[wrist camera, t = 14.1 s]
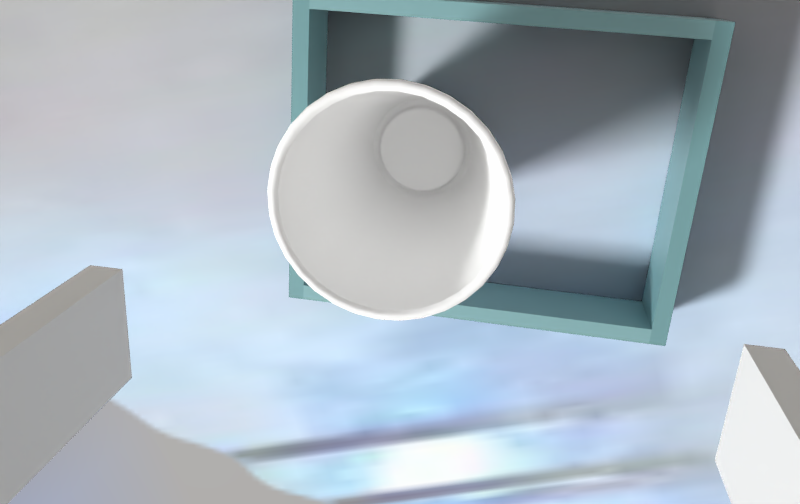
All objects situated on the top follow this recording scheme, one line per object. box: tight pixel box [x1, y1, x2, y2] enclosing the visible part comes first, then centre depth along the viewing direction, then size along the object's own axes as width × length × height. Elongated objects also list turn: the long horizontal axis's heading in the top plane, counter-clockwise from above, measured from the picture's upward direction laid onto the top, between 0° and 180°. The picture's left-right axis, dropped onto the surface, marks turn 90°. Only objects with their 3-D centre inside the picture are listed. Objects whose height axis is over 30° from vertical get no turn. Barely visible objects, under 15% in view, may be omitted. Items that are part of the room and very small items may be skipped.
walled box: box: [289, 0, 735, 346], centre depth 37 cm, size 16×20×4 cm
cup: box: [267, 79, 515, 321], centre depth 34 cm, size 10×10×11 cm
